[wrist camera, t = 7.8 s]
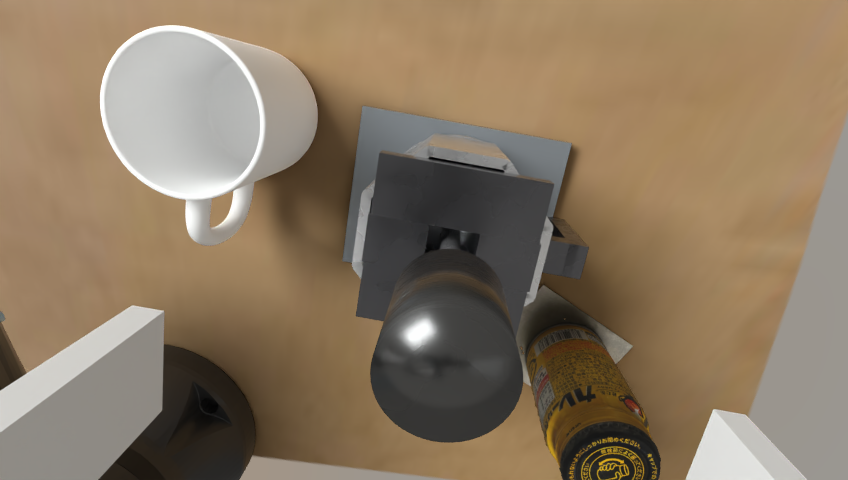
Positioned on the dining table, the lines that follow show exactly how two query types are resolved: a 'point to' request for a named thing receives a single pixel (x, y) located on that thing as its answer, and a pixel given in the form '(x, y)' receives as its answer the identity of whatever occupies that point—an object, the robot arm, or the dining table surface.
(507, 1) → the dining table surface
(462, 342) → the plunger
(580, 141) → the dining table surface
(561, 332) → the condiment
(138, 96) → the cup
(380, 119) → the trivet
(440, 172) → the carafe
